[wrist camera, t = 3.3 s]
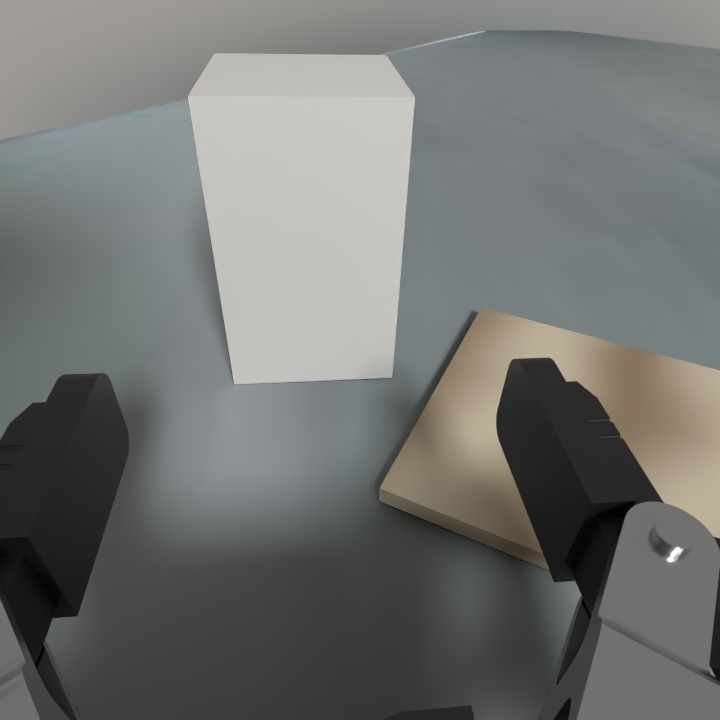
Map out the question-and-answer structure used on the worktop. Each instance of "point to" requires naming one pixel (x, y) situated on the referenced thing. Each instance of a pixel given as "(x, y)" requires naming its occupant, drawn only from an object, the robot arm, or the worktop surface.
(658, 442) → the cork mat
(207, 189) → the white rectangular block
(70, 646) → the worktop surface
